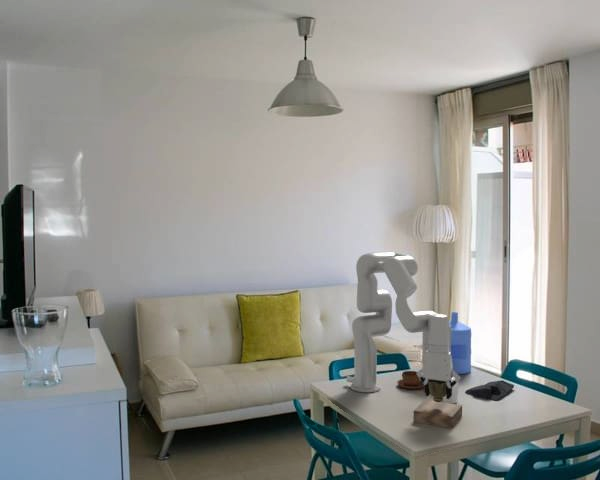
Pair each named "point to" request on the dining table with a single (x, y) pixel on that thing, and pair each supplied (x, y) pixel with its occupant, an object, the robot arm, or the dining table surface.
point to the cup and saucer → (410, 380)
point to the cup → (437, 389)
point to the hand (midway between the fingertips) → (438, 396)
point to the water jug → (460, 345)
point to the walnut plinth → (438, 413)
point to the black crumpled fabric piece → (491, 390)
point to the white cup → (454, 394)
